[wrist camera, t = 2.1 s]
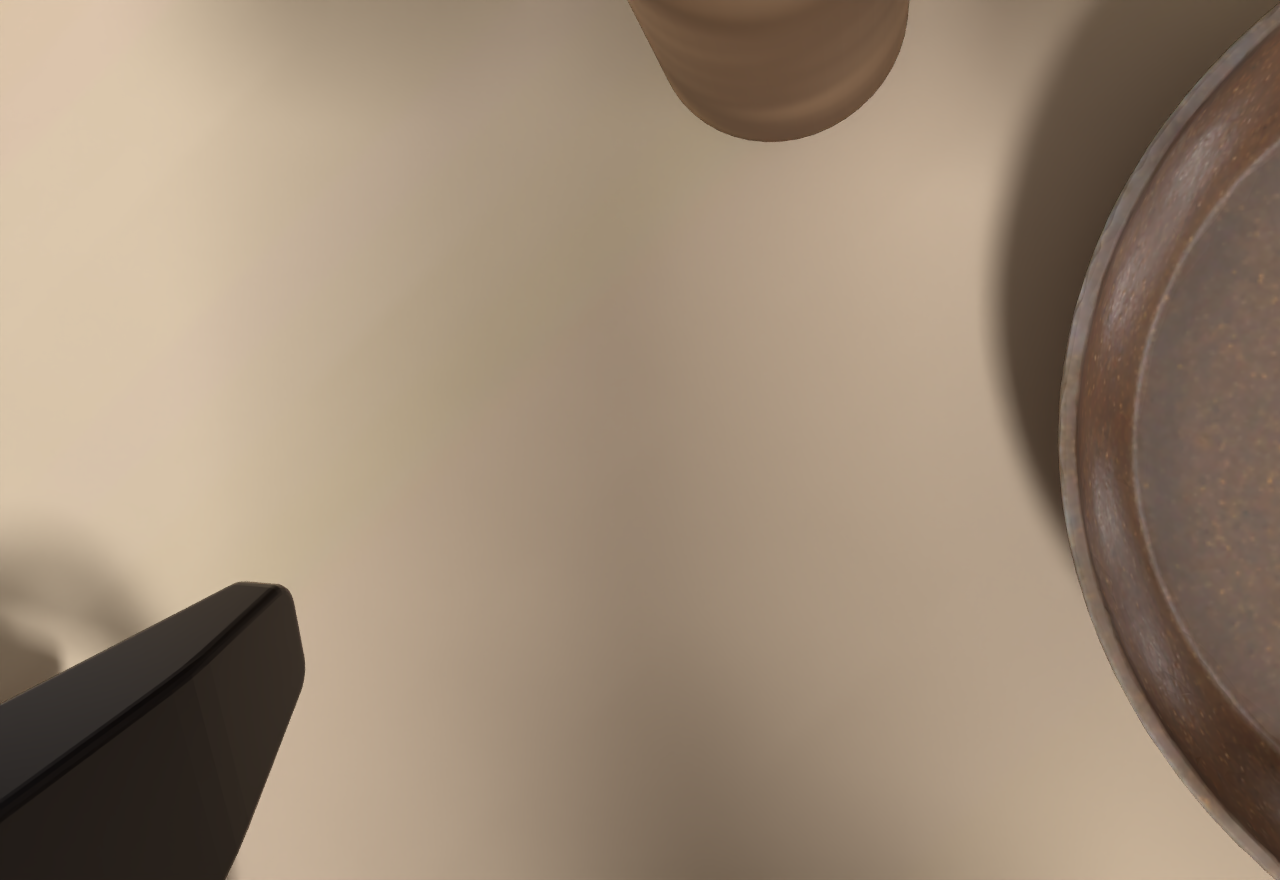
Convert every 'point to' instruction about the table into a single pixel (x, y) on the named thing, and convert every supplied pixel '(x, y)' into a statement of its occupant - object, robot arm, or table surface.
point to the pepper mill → (774, 59)
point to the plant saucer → (1190, 440)
